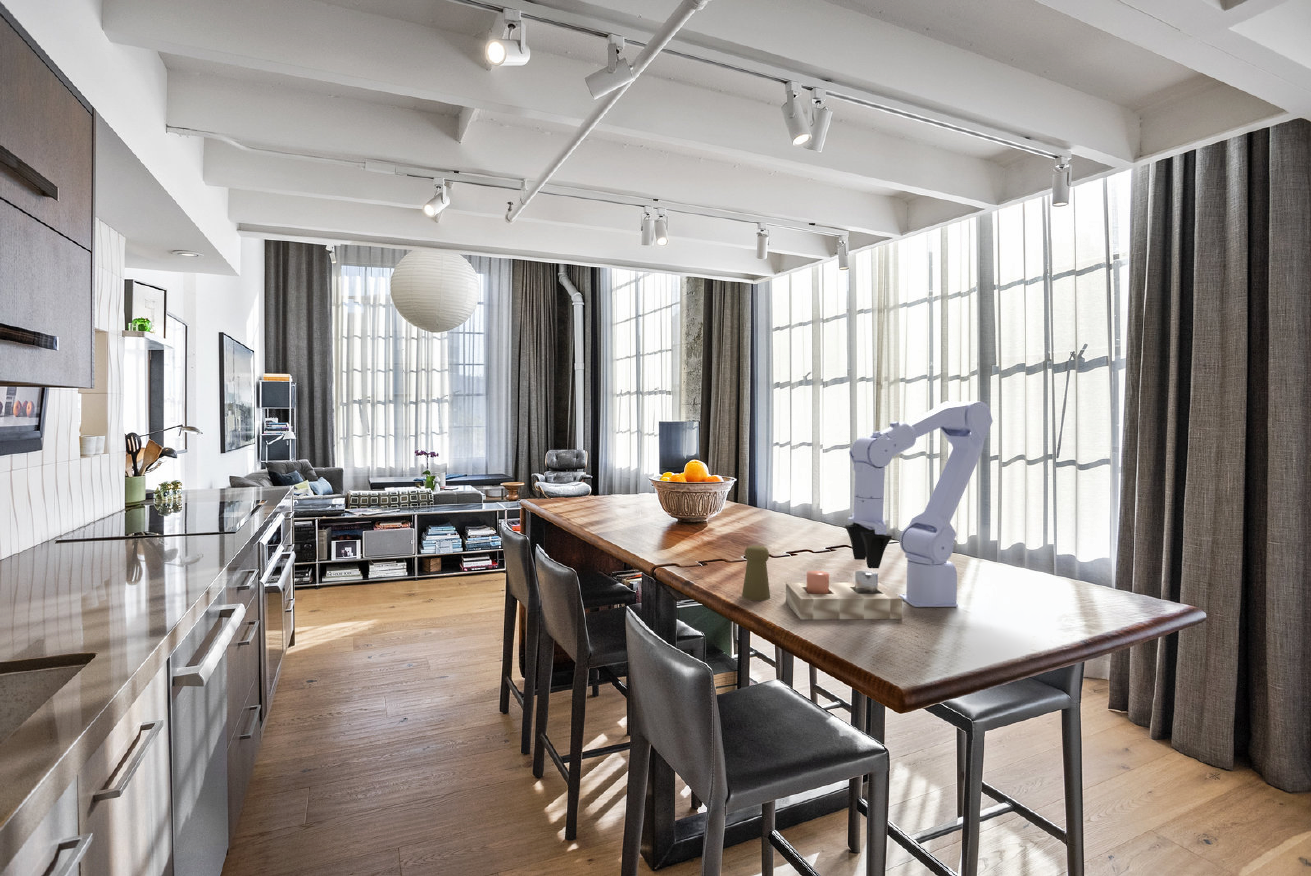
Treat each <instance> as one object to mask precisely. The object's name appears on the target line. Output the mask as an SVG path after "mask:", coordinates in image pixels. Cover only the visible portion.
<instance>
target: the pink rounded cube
mask: <svg viewBox="0 0 1311 876" xmlns="http://www.w3.org/2000/svg"><path fill="white" fill-rule="evenodd" d="M806 583H807V593H808V594H829V583H830V573H829V572H827V571H823V570H808V571H807V572H806Z"/></svg>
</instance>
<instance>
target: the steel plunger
mask: <svg viewBox="0 0 1311 876" xmlns="http://www.w3.org/2000/svg"><path fill="white" fill-rule="evenodd" d="M878 581H879V573H877V572H875V571H871V570H857V571H855V574H854V583H855V592H856V593H858V594H877V593H878V583H879V582H878Z"/></svg>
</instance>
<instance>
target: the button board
mask: <svg viewBox="0 0 1311 876" xmlns="http://www.w3.org/2000/svg"><path fill="white" fill-rule="evenodd" d="M785 603H786V604H787V605H788V606H789V607H790V608H791V610H792V611H793V612H794V613H795V614H796V615H797V617H798V618H799V619H800V620H903V599H902V598H901V597H900V596H899V594H896V593H895V592H894V591H892V590H891V589H889V588H888V587H886V586H885V585H883V583H881V582H878V593H877V594H858V593H856V592H855V582H829V594H808V593H807V582H785Z"/></svg>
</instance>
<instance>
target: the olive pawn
mask: <svg viewBox="0 0 1311 876" xmlns="http://www.w3.org/2000/svg"><path fill="white" fill-rule="evenodd" d="M744 557H745V558H744V559H745V560H746V566H745V574H744V580H743V581H744V582H743V588H742V593H741V595H742V596H741V597H742V598H744V599H746V600H750V601H766V600H769V599H771V592H770V583H769V576H768V573H769V572H768V567H767V561H768V560H769V559H770V558H769V557H770V551H769V550H768V547H766V546H764V545H757V544H755V545H749V546H747V547H746V548H745V551H744Z"/></svg>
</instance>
